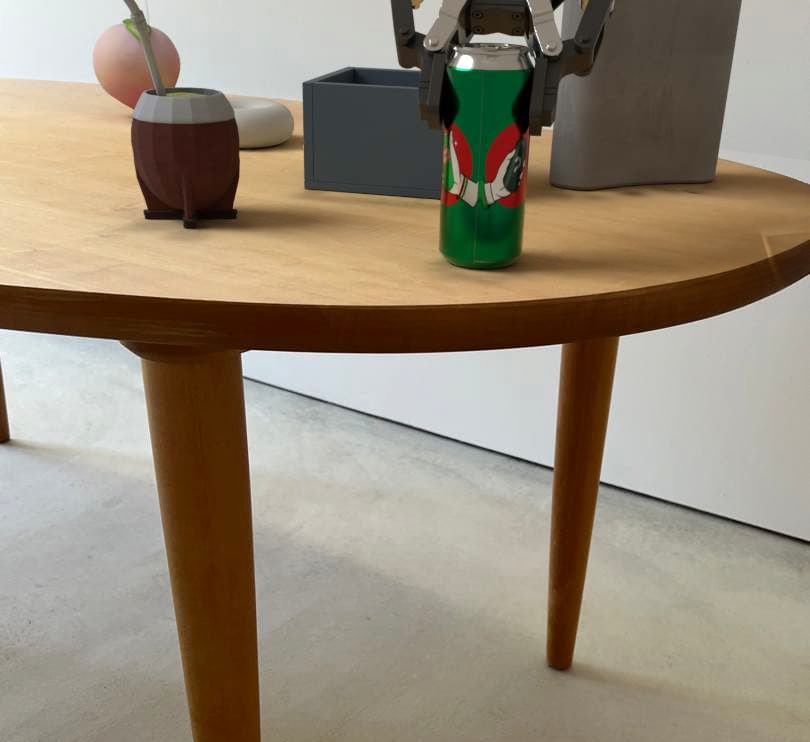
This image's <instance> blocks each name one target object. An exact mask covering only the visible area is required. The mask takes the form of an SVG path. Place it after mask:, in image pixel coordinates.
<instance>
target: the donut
mask: <svg viewBox="0 0 810 742" xmlns="http://www.w3.org/2000/svg"><path fill="white" fill-rule="evenodd" d="M227 99H228V101H229V102H230V104H231V106H232V108H233V110H234V112H235V119H236V122H237V126H238V132H239V149H255V148H266V147H273V146H277V145H281V144H283V143H284V142H286V141H288V139H289V138H290V137H291V136H292V135H293V132H294V131H295V119H294V116H293V114H292V111H291V110H290V108H289V107H287V106H286V105H285V104H283V103H281V102H278V101H275V100H268V99H261V98H246V97H244V98H243V97H241V98H240V97H239V98H238V97H237V98H236V97H231V98H227Z"/></svg>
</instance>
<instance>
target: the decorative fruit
mask: <svg viewBox="0 0 810 742" xmlns="http://www.w3.org/2000/svg"><path fill="white" fill-rule="evenodd" d="M121 22H122V23H118V24H114V25H111V26H109V27H108V28H107V29H105V30H103V32H102V33H101V34H100V35H99V36H98V38H97V40H96V42H95V44H94V47H93V52H92V66H93V71H94V74H95V77H96V79H97V81H98V83H99V84H100V86H101V88H102V89H103V90H104V91H105V93H107V94H108V95H109V96H110V97H112V98H113V99H115V100H117V102H120V103H121V104H123V105H124V106H126V107H128V108H130V109H132V111H134V109H135V107H136V105H137V102H138V100H139V99H140V97H141V95H142V93H143V92H144V91H146V90H150V89H155V86H154V83H153V80H152V76H151V73H150V70H149V66H148V63H147V60H146V57H145V53H144V50H143V47H142V43H141V40H140V37H139V34H138V31H137V30H135V27H134V25H133V22H132V19H131V18H125V19H123V20H122V21H121ZM147 25H148V26H147V32H148V35H149V39H150V42H151V46H152V49H153V52H154V56H155V59H156V62H157V66H158V69H159V73H160V76H161V79H162V82H163V86H164V88H172V87H177V83H178V81H179V77H180V73H181V57H180V53H179V52H178V49H177V48H176V46H175V44H174V42H173V41H172V40H171V38H170V37H169V36H168V35H167V34H166V32H164V31H162V30H160V29H159V28H157V27H154V26H151V25H150V24H148V23H147Z"/></svg>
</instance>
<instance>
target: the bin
mask: <svg viewBox="0 0 810 742" xmlns="http://www.w3.org/2000/svg"><path fill="white" fill-rule="evenodd" d="M420 73H421V70H420V69H419V70H418V69H400V68H399V69H398V68H383V67H381V68H379V67H362V66H361V67H360V66H357V67H356V66H345V67H343V68H340V69H338V70H334V71H331V72H328V73H326V74H322V75H319V76H317V77H314V78H310V79H308V80H305V81H302V84H301V87H302V128H303V129H302V137H303V138H302V140H303V141H302V142H303V180H304V181H303V187H304V189H305V190H315V191H330V192H343V193H344V192H345V193H354V194H355V193H356V194H368V195H382V196H394V197H408V198H420V199H421V198H422V199H432V200H441V173H442V144H443V124H442V130H441V131H432V130H429V128H428V121H426V120H421V117H420V114H419V108H418V101H417V93H418V86H419V80H420Z"/></svg>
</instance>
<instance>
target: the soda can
mask: <svg viewBox="0 0 810 742" xmlns="http://www.w3.org/2000/svg"><path fill="white" fill-rule="evenodd" d="M452 49H453V51H454V52H453V54H452V56H451V58H450V59H449V61H448V63H447V64H446V66H445V88H444V116H443V144H442V173H441V199H440V200H439V201H440V203H439V204H440V205H439V232H438V233H439V234H438V251H439V253H440V254H441V255H442V257H443V258H444V260H445V261H446V262H448V263H450V264H452V265H454V266H456V267H461V268H467V269H474V270H477V269H478V270H491V269H493V270H494V269H500V268H501V269H502V268H505V267H507V266H510V265H512V264H514V263H515V262H516V261H517V260H518V259H519V258H520V256H521V255H522V253H523V243H524V229H525V214H526V202H527V201H526V200H527V190H528V189H527V186H528V175H529V161H530V160H529V158H530V147H531V146H530V145H531V136H529V112H530V102H531V94H532V85H533V76H534V68H535V65H534V64H533V62H532V59H531V57H530V52H529V51H530V48H529V47H528V46H527V45H523V44H515V43H503V42H469V43H461V44H456V45H453V47H452Z"/></svg>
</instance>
